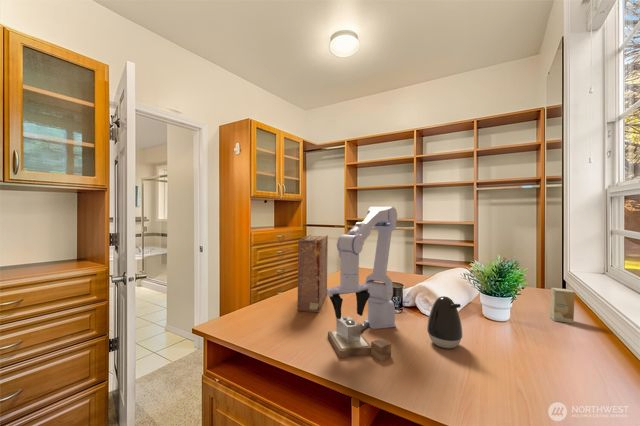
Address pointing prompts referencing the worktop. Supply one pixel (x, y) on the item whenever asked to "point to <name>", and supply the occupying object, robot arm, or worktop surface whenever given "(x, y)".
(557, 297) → the skincare box
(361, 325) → the loose bolt
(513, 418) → the worktop surface
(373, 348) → the walnut block
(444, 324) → the pump dispenser
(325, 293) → the book
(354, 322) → the housing
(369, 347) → the stand
